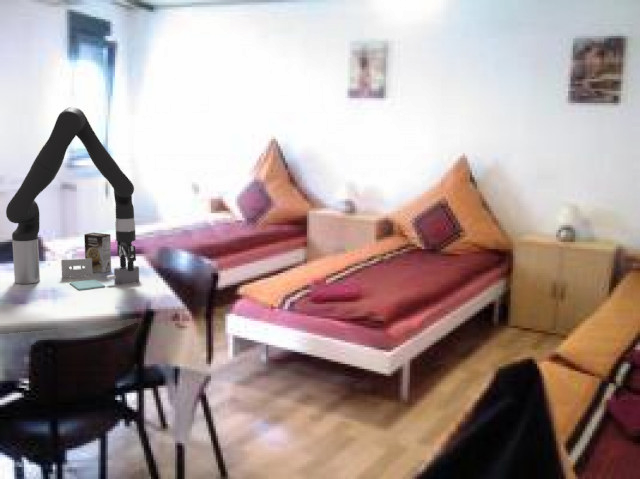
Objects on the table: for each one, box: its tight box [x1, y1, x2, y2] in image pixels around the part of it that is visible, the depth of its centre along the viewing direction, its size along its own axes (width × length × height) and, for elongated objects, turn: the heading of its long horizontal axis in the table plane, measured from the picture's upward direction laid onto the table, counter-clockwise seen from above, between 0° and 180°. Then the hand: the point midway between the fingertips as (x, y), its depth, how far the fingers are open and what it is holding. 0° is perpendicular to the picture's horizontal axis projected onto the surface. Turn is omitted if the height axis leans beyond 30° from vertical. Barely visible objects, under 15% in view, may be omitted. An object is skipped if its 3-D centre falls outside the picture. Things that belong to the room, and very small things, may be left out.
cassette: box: [60, 258, 94, 279], centre depth 271 cm, size 12×2×8 cm, turn 108°
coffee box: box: [83, 232, 112, 274], centre depth 283 cm, size 9×6×16 cm
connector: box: [106, 265, 140, 285], centre depth 264 cm, size 4×13×6 cm, turn 127°
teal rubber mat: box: [69, 278, 106, 291], centre depth 259 cm, size 12×10×1 cm
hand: (127, 268), depth 264 cm, fingers open, 8 cm apart
